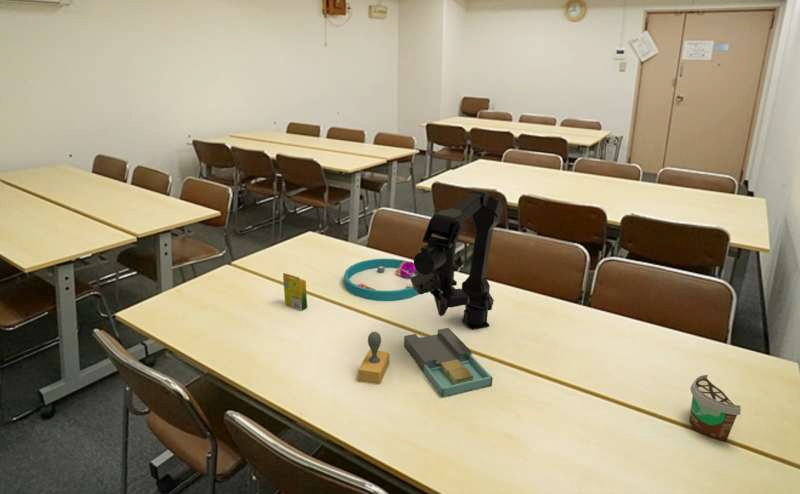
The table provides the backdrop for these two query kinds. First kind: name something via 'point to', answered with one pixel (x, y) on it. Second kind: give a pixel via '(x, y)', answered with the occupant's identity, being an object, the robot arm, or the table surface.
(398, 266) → the teal ring
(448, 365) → the brass chip
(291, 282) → the crayon box
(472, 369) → the tray
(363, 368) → the rubber stamp
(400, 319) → the table surface
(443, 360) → the slotted plate
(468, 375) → the brass chip
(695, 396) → the food container
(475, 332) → the table surface
